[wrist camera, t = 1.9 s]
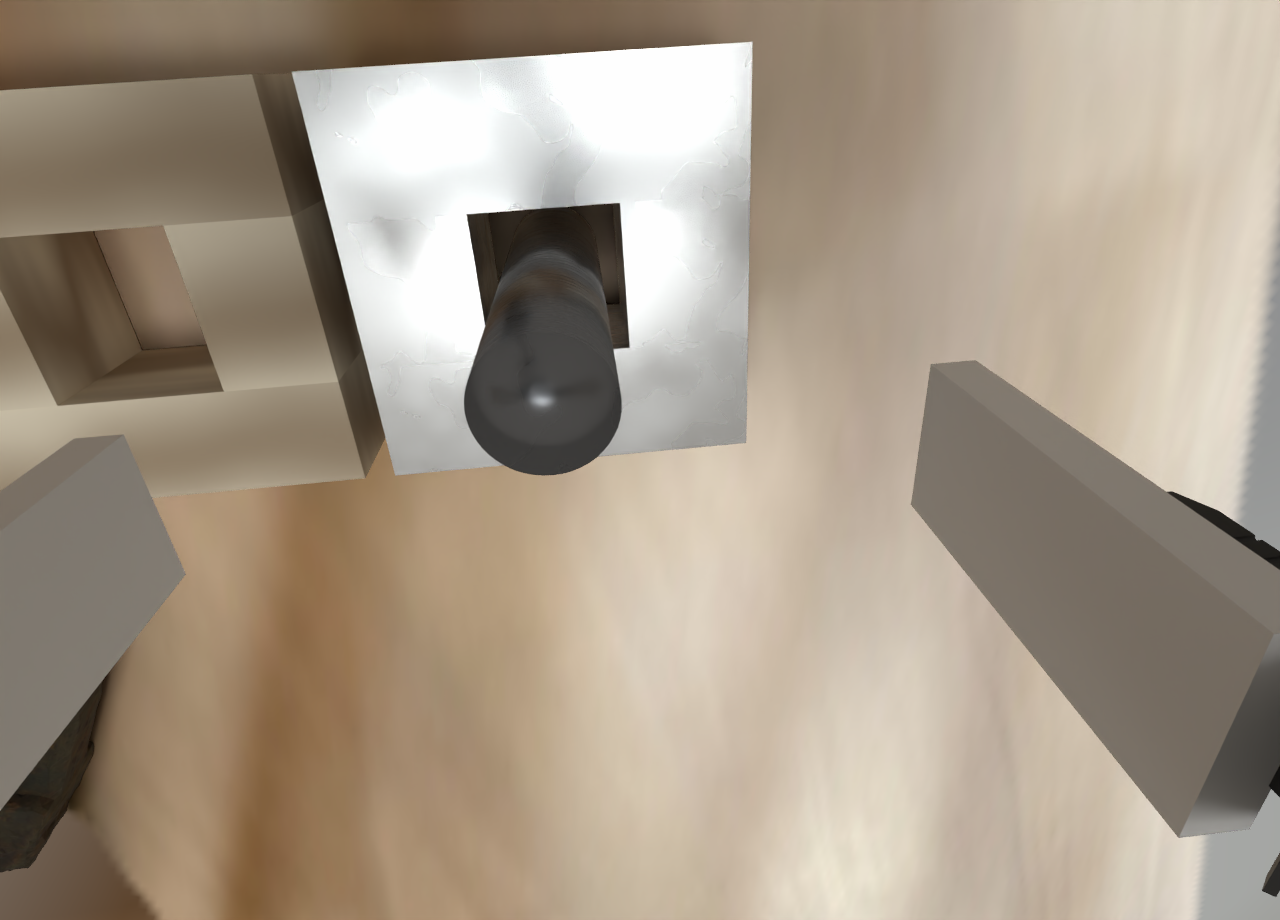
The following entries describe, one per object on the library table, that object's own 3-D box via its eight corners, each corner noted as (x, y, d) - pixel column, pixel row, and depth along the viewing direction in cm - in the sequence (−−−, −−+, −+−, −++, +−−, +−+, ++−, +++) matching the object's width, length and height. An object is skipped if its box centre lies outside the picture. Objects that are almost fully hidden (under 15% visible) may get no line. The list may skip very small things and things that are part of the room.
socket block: (344, 71, 23) (291, 71, 18) (717, 47, 23) (752, 41, 19) (421, 413, 29) (395, 475, 24) (719, 387, 29) (746, 442, 25)
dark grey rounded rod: (507, 208, 25) (450, 339, 13) (592, 202, 25) (615, 325, 13) (519, 292, 27) (477, 481, 14) (599, 286, 27) (626, 467, 15)
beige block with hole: (-83, 99, 22) (-243, 106, 18) (312, 73, 23) (251, 74, 18) (85, 443, 28) (-5, 512, 24) (396, 415, 28) (365, 478, 24)
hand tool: (53, 505, 29) (-31, 575, 25) (158, 538, 30) (94, 611, 26) (-1, 790, 37) (-72, 880, 33) (86, 808, 38) (27, 897, 34)
